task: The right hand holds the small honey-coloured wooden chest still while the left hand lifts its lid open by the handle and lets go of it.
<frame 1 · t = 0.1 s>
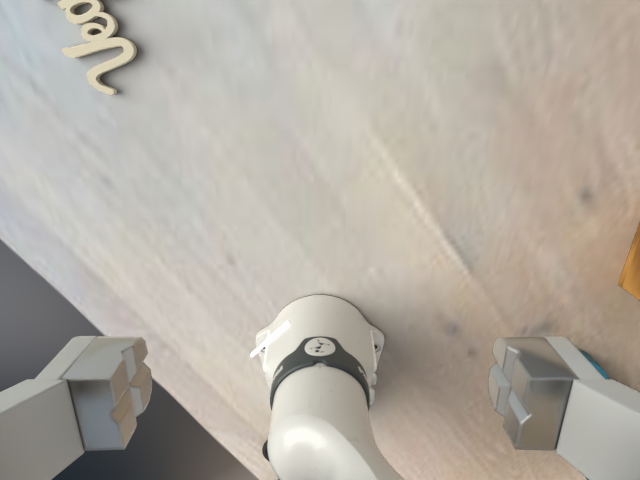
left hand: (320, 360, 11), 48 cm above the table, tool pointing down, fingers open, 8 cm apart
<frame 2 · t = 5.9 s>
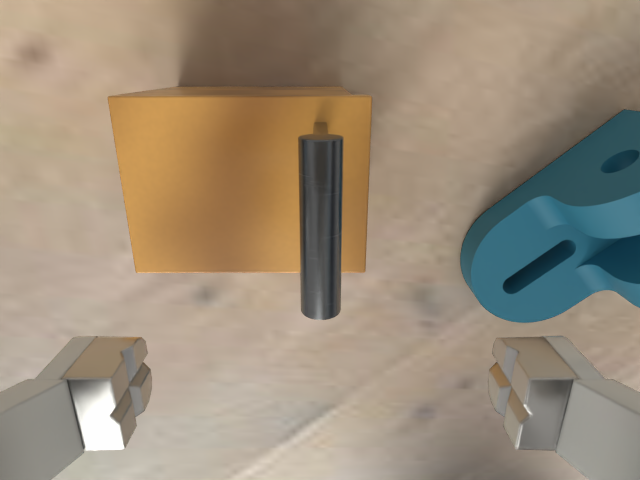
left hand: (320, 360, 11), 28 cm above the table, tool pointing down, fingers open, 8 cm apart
chest: (262, 151, 37), on the table
lid: (236, 206, 22), point 15 cm above the table, hinge at 0.0°
blue clevis bracket: (556, 226, 39), on the table
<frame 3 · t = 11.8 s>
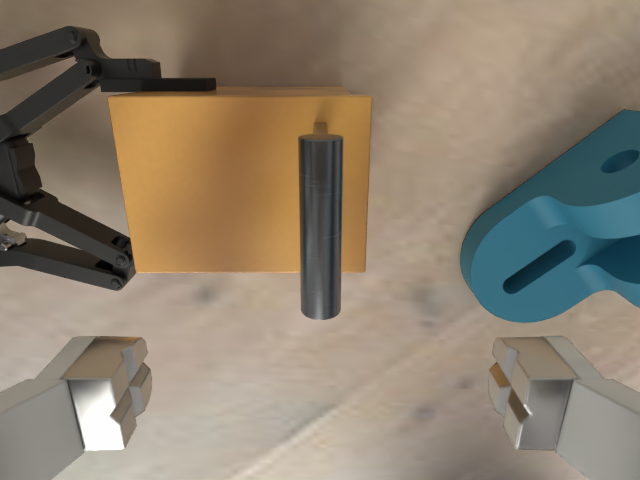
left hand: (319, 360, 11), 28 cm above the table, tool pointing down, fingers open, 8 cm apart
right hand: (218, 168, 31), fingers closed on chest, 10 cm apart
chest: (262, 151, 37), on the table, touching right hand
lid: (236, 206, 22), point 15 cm above the table, hinge at 0.0°
blue clevis bracket: (555, 226, 39), on the table
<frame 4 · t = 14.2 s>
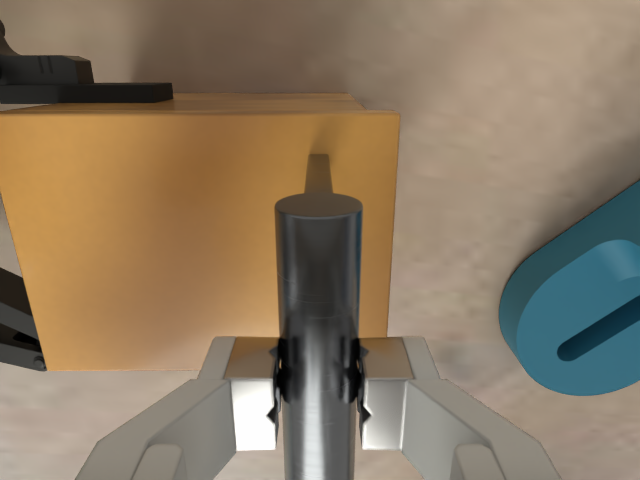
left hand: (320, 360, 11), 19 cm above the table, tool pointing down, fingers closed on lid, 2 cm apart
chest: (244, 178, 28), on the table, touching right hand
lid: (181, 295, 14), point 15 cm above the table, hinge at -0.1°, touching left hand
blue clevis bracket: (622, 272, 30), on the table
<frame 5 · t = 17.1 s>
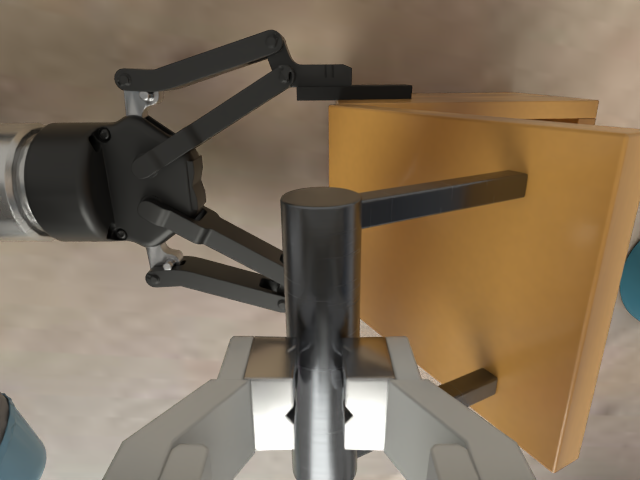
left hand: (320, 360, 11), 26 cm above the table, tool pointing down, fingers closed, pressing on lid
right hand: (402, 181, 29), fingers closed on chest, 10 cm apart
chest: (419, 162, 34), on the table, touching right hand
lid: (349, 263, 16), point 20 cm above the table, hinge at 60.5°, touching left hand
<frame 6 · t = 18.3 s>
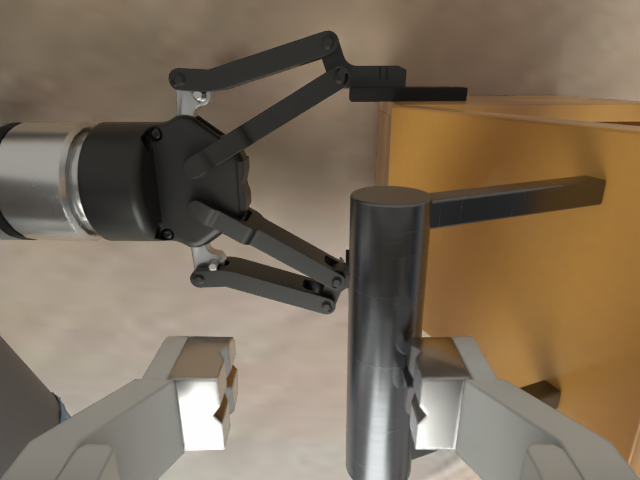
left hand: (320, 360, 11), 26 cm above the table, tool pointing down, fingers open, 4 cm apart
right hand: (451, 183, 28), fingers closed on chest, 10 cm apart
chest: (460, 165, 34), on the table, touching right hand
lid: (408, 265, 16), point 20 cm above the table, hinge at 66.7°, touching left hand
when the right hand's fingers open (6 cm above the table, at t = 22.2 s): chest stays where it is, on the table.
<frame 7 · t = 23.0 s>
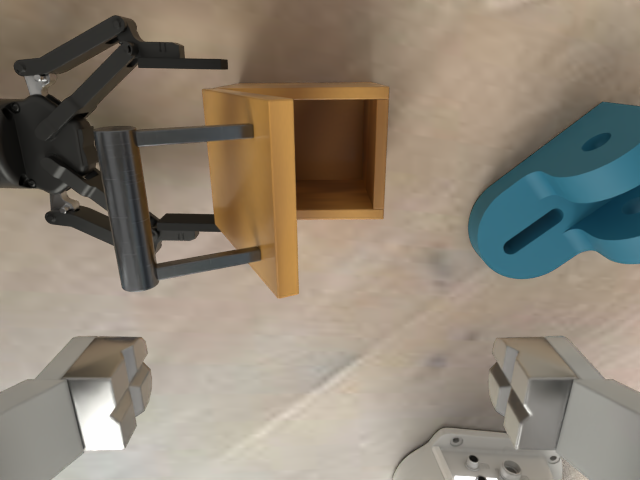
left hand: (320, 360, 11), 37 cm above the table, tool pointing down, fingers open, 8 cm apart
right hand: (229, 148, 39), fingers open, 13 cm apart
chest: (306, 136, 45), on the table
lid: (184, 184, 27), point 20 cm above the table, hinge at 63.9°
blue clevis bracket: (547, 199, 47), on the table
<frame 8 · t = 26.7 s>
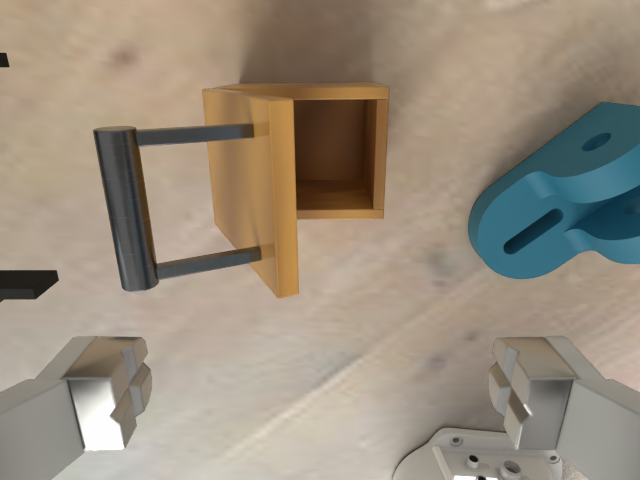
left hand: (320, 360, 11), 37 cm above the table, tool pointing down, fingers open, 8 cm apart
chest: (306, 136, 45), on the table
lid: (184, 184, 27), point 20 cm above the table, hinge at 63.9°
blue clevis bracket: (547, 199, 47), on the table
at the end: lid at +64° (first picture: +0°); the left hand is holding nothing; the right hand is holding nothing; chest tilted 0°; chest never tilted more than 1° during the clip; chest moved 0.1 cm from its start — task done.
